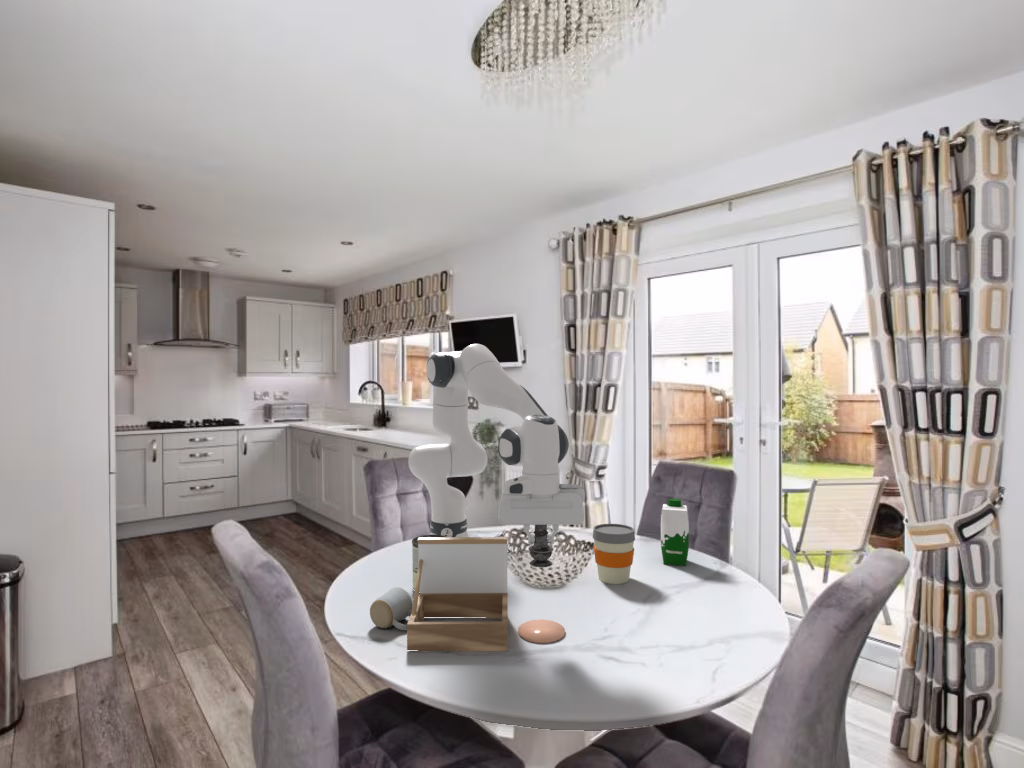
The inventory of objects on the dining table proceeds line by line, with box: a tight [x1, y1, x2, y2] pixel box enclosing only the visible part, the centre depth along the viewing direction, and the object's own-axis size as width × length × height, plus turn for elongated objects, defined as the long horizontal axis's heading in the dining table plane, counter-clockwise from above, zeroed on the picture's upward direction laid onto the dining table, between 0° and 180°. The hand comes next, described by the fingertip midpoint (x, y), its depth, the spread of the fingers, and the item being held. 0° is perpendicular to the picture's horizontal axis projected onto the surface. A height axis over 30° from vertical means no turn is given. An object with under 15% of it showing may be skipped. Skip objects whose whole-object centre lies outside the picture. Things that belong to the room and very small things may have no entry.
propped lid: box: [411, 536, 508, 616], centre depth 132 cm, size 14×22×15 cm, turn 91°
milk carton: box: [660, 497, 690, 567], centre depth 180 cm, size 9×9×20 cm
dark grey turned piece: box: [528, 525, 554, 568], centre depth 129 cm, size 6×6×12 cm
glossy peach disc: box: [517, 619, 566, 644], centre depth 129 cm, size 11×11×1 cm
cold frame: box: [406, 592, 509, 652], centre depth 129 cm, size 18×22×6 cm
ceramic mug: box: [369, 586, 413, 631], centre depth 134 cm, size 11×8×8 cm
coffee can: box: [411, 534, 446, 592], centre depth 157 cm, size 10×10×14 cm
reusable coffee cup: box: [592, 523, 636, 585], centre depth 165 cm, size 13×13×15 cm
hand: (540, 542), depth 129 cm, fingers closed on dark grey turned piece, 3 cm apart
